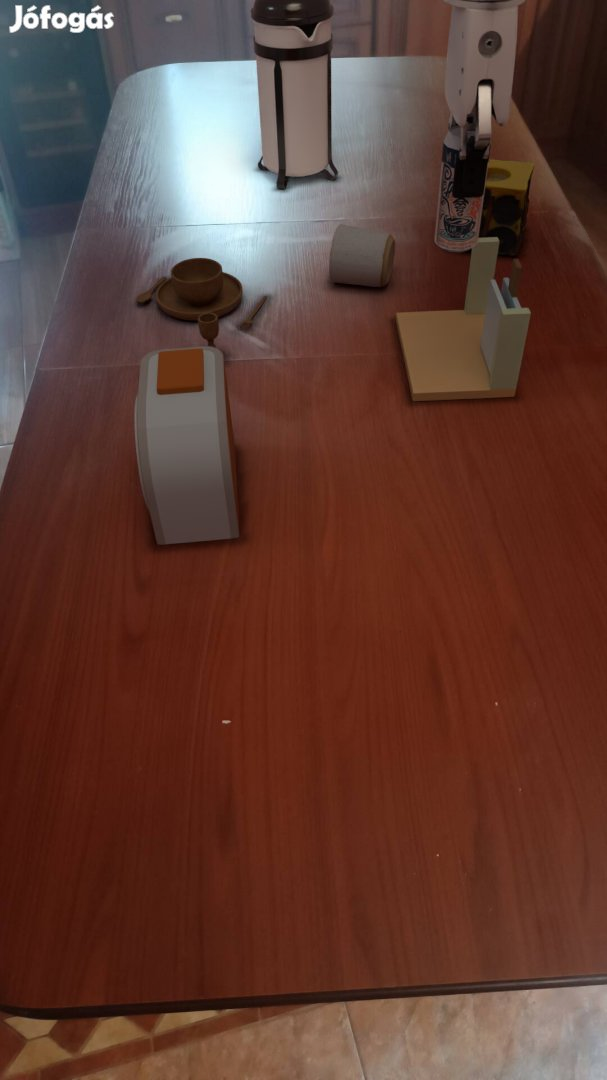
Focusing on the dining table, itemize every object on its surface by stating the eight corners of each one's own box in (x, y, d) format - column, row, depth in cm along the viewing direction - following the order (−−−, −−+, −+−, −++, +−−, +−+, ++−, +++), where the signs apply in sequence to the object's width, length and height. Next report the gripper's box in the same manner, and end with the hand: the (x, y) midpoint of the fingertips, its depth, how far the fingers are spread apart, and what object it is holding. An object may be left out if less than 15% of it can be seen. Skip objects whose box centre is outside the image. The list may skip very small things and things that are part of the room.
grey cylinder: (385, 298, 110) (388, 244, 105) (327, 291, 112) (327, 238, 107) (398, 263, 118) (402, 211, 112) (344, 257, 119) (345, 206, 114)
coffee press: (356, 162, 144) (360, -41, 122) (315, 197, 134) (312, -17, 112) (272, 148, 150) (261, -48, 128) (227, 180, 140) (208, -26, 118)
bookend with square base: (485, 316, 106) (497, 236, 99) (514, 397, 94) (531, 313, 86) (395, 320, 106) (400, 241, 99) (412, 401, 94) (419, 317, 86)
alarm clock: (158, 449, 89) (136, 343, 79) (234, 443, 90) (222, 337, 80) (154, 545, 79) (128, 437, 69) (240, 537, 79) (226, 429, 69)
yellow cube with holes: (525, 228, 124) (537, 161, 117) (517, 258, 117) (529, 189, 110) (459, 221, 126) (467, 155, 119) (448, 250, 120) (455, 182, 112)
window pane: (497, 343, 99) (513, 247, 90) (509, 376, 94) (527, 279, 85) (492, 343, 99) (508, 247, 90) (504, 376, 94) (522, 279, 85)
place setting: (275, 289, 113) (273, 249, 109) (223, 367, 100) (218, 326, 96) (162, 274, 117) (156, 235, 113) (98, 347, 104) (88, 306, 100)
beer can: (432, 253, 88) (443, 139, 80) (434, 234, 92) (445, 122, 83) (477, 255, 88) (492, 140, 79) (477, 236, 91) (492, 123, 82)
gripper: (551, 2, 66) (515, 219, 79) (507, -43, 78) (482, 153, 91) (460, 5, 66) (439, 222, 79) (430, -39, 78) (416, 156, 91)
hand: (462, 183), depth 85 cm, fingers closed on beer can, 4 cm apart
